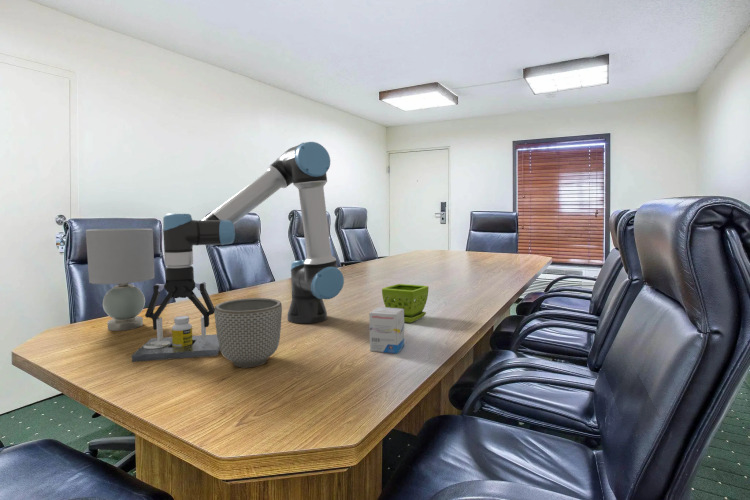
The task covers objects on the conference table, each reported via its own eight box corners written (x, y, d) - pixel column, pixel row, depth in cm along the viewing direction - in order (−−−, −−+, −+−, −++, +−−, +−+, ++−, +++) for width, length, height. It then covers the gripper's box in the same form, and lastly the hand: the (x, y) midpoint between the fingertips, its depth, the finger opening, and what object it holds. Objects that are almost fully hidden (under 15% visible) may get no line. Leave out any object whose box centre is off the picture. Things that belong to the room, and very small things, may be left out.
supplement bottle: (184, 353, 117) (183, 320, 116) (168, 352, 118) (167, 319, 117) (196, 347, 122) (195, 315, 121) (180, 346, 123) (179, 314, 122)
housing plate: (225, 339, 130) (225, 332, 130) (217, 355, 114) (216, 348, 114) (151, 343, 125) (151, 337, 125) (131, 361, 110) (131, 354, 110)
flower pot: (429, 317, 157) (429, 285, 156) (413, 326, 145) (413, 291, 144) (398, 313, 164) (398, 282, 163) (380, 320, 153) (380, 287, 152)
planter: (246, 379, 97) (244, 314, 96) (202, 366, 106) (200, 306, 105) (296, 358, 112) (295, 301, 111) (253, 348, 121) (252, 295, 120)
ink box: (405, 345, 123) (405, 307, 122) (397, 354, 115) (397, 314, 114) (378, 342, 126) (378, 305, 125) (369, 351, 118) (369, 311, 117)
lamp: (78, 331, 140) (71, 229, 137) (132, 317, 158) (127, 228, 156) (117, 337, 132) (111, 230, 130) (169, 322, 151) (165, 228, 148)
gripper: (224, 263, 124) (226, 332, 126) (139, 265, 119) (143, 337, 121) (219, 266, 117) (222, 340, 118) (129, 268, 112) (133, 345, 113)
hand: (182, 339), depth 120 cm, fingers open, 11 cm apart
